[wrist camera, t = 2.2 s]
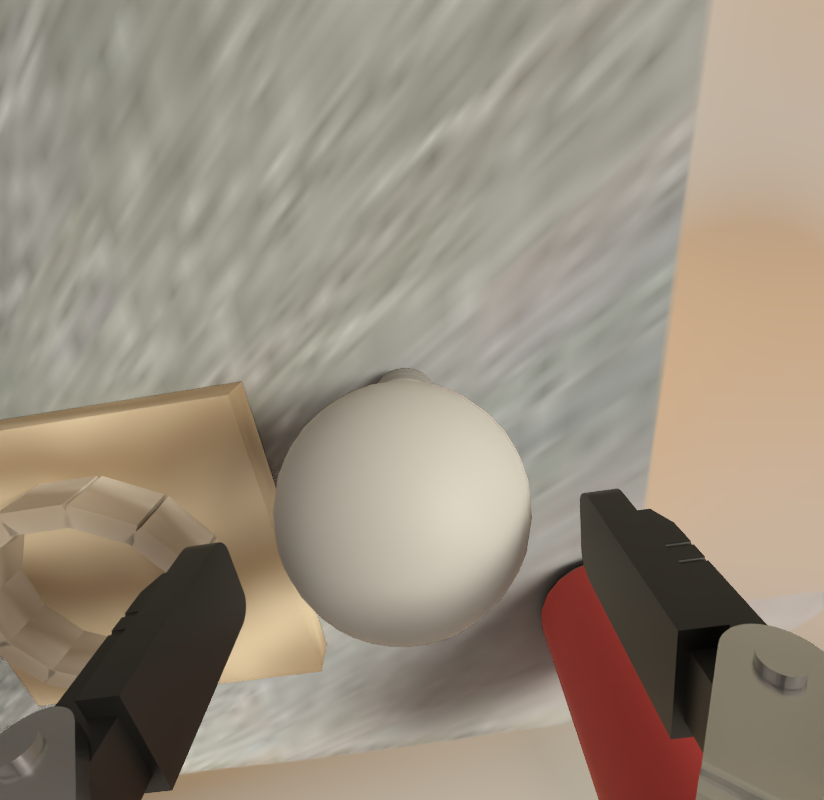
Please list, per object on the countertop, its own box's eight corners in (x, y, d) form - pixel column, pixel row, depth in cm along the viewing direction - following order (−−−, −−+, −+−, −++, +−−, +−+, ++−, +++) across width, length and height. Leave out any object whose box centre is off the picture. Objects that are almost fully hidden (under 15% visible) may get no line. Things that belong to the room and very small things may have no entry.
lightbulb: (480, 451, 19) (560, 707, 9) (341, 461, 20) (266, 723, 9) (478, 311, 17) (581, 443, 7) (320, 323, 17) (193, 468, 7)
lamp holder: (-100, 436, 19) (-206, 480, 16) (241, 381, 18) (205, 416, 15) (59, 678, 24) (6, 748, 21) (326, 644, 24) (313, 712, 20)
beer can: (695, 590, 22) (978, 953, 11) (602, 665, 24) (765, 1039, 13) (601, 528, 21) (821, 875, 10) (510, 613, 23) (607, 984, 12)
